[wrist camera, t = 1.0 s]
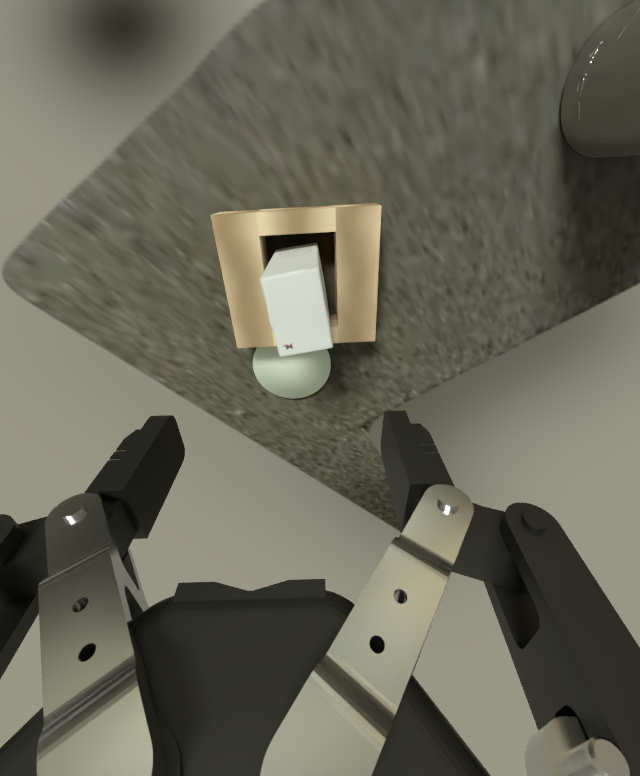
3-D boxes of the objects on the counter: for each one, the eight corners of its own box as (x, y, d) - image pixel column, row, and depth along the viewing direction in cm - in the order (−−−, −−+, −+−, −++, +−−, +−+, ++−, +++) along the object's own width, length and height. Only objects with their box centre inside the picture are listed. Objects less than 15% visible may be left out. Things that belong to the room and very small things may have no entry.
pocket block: (374, 203, 29) (381, 205, 26) (370, 327, 36) (375, 341, 33) (220, 211, 30) (210, 215, 27) (243, 334, 36) (237, 348, 33)
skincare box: (328, 300, 34) (334, 351, 24) (288, 307, 34) (278, 360, 24) (318, 238, 31) (320, 266, 21) (274, 247, 31) (255, 278, 21)
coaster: (329, 325, 36) (329, 327, 35) (331, 394, 40) (331, 396, 40) (247, 329, 36) (246, 332, 35) (259, 397, 40) (259, 400, 40)
